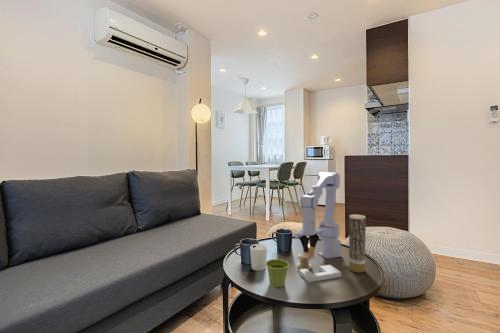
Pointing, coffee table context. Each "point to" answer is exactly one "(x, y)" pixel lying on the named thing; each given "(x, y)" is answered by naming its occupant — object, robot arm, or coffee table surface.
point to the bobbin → (303, 262)
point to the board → (325, 273)
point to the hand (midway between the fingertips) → (308, 251)
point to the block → (309, 252)
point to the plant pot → (277, 272)
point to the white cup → (258, 257)
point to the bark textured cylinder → (357, 243)
